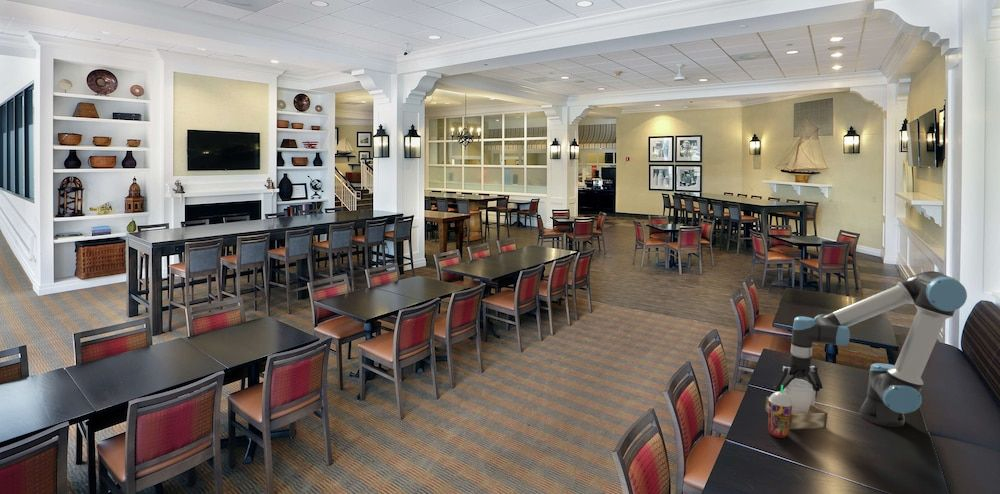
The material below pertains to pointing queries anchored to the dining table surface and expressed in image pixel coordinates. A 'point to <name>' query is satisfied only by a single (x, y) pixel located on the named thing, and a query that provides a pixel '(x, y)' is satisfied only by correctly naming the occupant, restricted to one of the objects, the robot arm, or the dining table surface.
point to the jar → (799, 395)
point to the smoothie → (779, 413)
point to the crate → (806, 418)
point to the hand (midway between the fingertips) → (795, 405)
